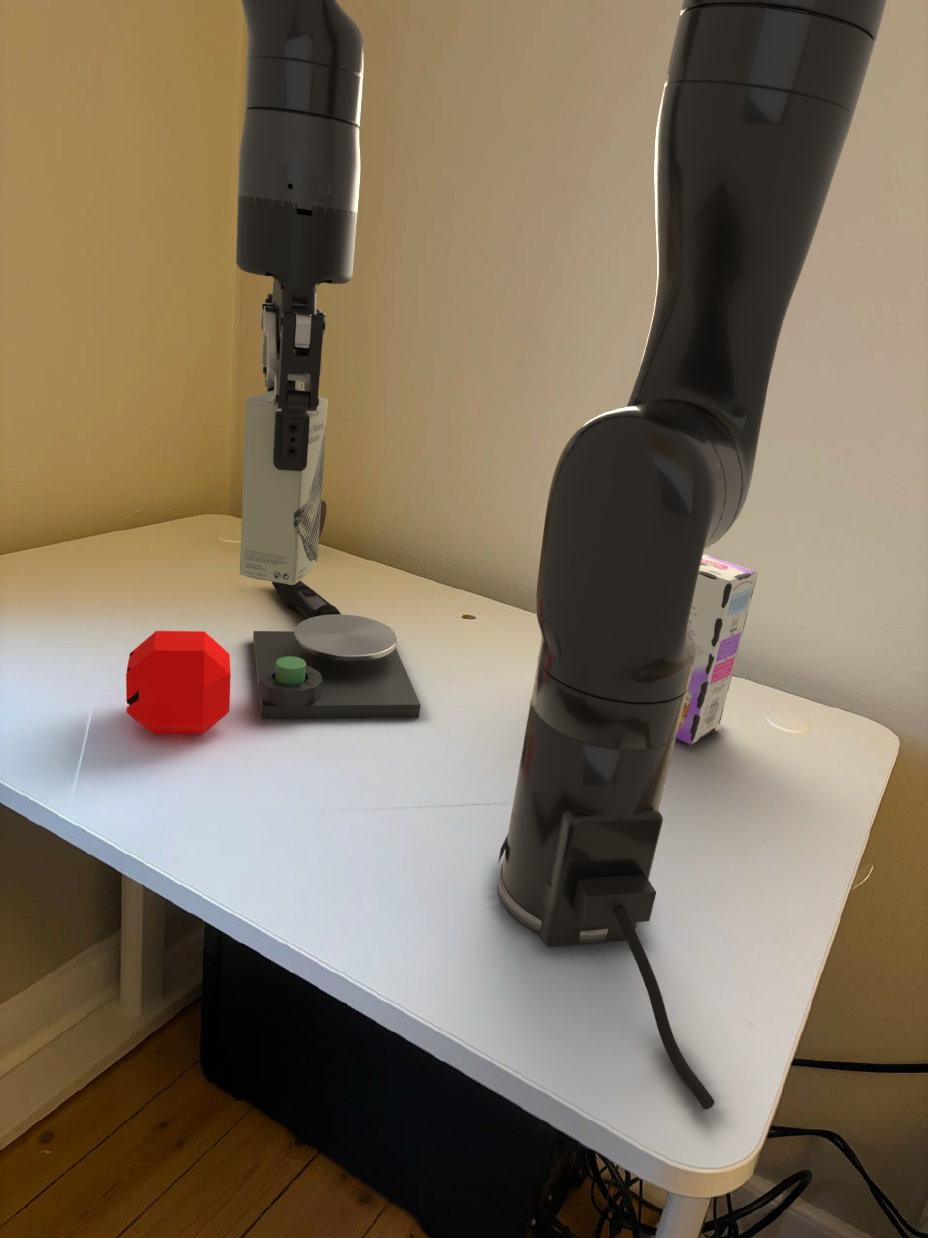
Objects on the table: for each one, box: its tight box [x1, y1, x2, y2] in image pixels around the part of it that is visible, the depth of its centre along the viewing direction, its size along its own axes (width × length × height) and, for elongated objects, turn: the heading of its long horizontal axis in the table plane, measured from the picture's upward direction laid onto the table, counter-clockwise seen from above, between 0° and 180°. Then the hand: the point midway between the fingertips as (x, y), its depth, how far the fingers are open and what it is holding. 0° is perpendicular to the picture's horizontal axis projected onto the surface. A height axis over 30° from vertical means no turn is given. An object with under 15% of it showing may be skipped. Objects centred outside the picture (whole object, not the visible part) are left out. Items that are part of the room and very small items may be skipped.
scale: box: [252, 630, 421, 721], centre depth 88 cm, size 16×14×3 cm
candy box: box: [675, 553, 759, 746], centre depth 87 cm, size 14×6×16 cm, turn 47°
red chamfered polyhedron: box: [125, 630, 232, 736], centre depth 76 cm, size 8×8×8 cm
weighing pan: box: [293, 613, 398, 662], centre depth 90 cm, size 10×10×1 cm
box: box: [239, 390, 329, 585], centre depth 66 cm, size 5×4×13 cm
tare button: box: [275, 656, 306, 685], centre depth 81 cm, size 3×3×2 cm
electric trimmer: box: [271, 580, 342, 620], centre depth 102 cm, size 4×16×3 cm, turn 32°
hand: (285, 456), depth 65 cm, fingers closed on box, 6 cm apart
